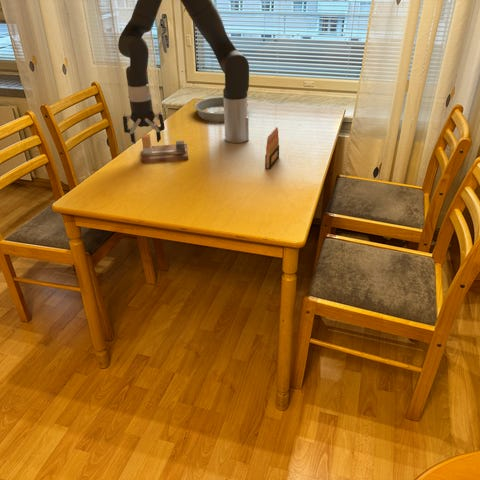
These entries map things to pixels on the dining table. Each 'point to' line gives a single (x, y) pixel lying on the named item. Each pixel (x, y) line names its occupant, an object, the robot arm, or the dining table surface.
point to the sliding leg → (146, 143)
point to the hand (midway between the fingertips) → (146, 142)
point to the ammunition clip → (272, 149)
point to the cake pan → (210, 103)
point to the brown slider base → (166, 153)
